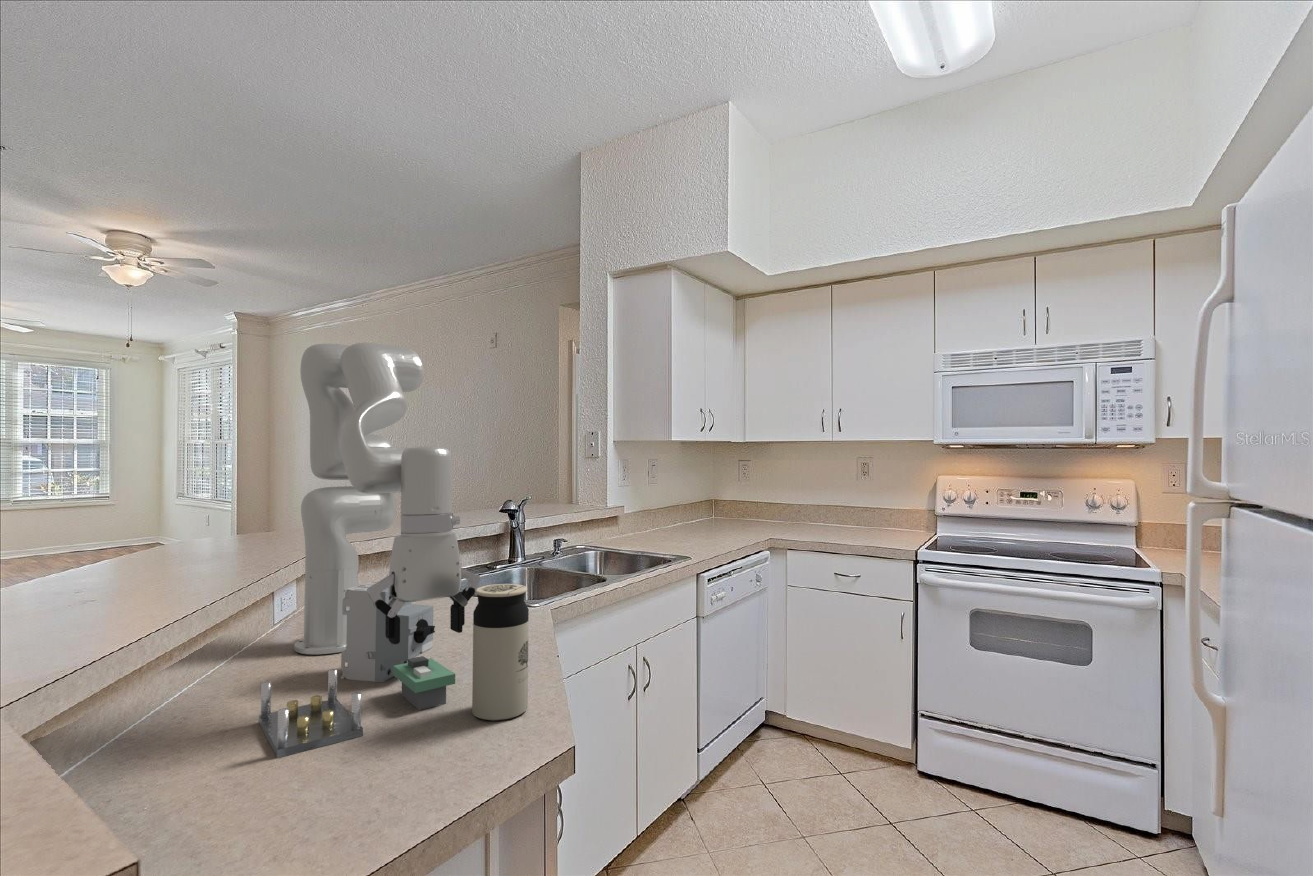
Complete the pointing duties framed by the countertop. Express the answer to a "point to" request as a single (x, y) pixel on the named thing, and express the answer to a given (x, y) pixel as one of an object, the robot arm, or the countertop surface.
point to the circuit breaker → (381, 636)
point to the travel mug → (500, 652)
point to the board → (423, 674)
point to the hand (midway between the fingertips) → (426, 636)
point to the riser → (425, 697)
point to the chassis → (309, 721)
